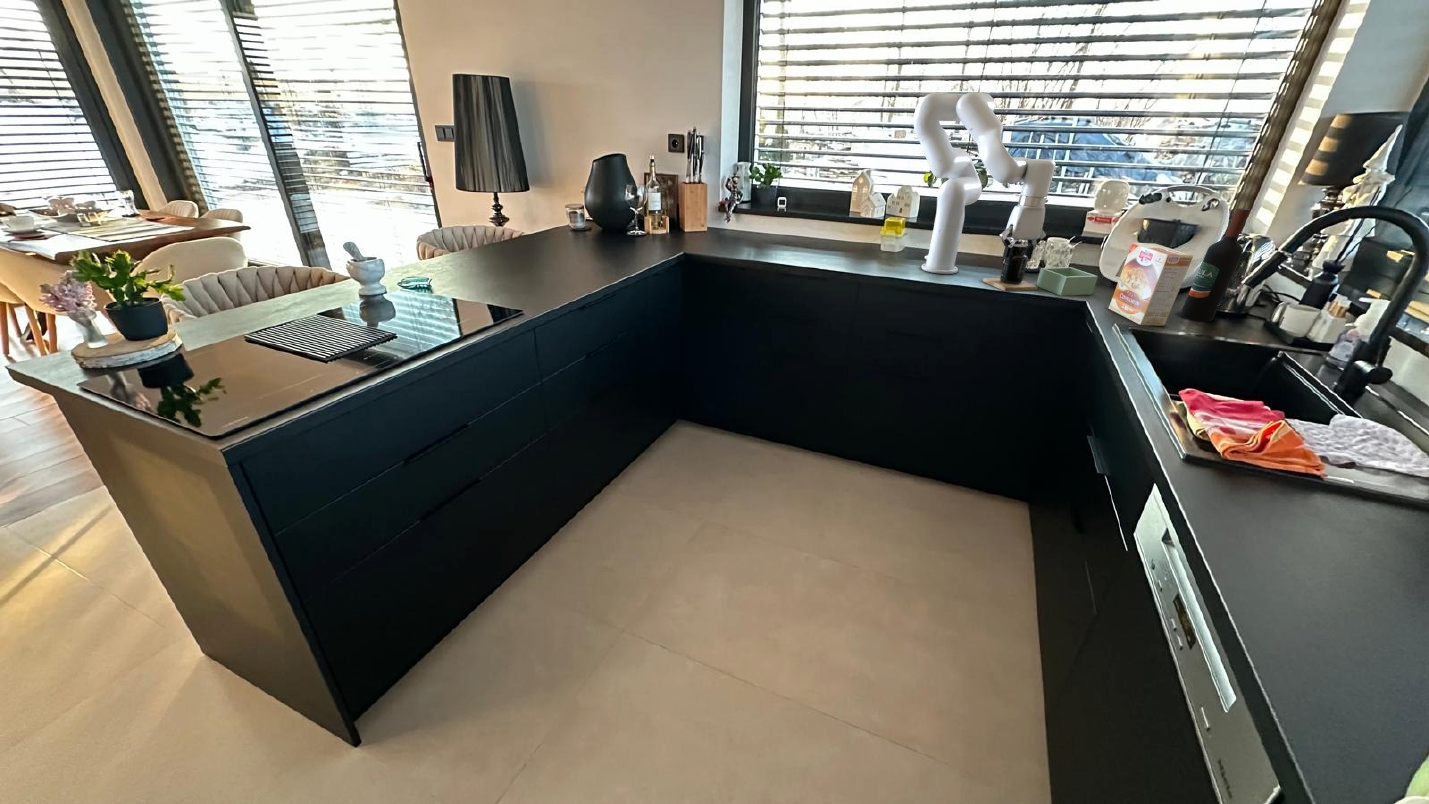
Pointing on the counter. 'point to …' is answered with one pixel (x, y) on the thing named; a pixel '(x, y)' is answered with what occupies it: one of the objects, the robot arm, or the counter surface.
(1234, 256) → the wine bottle
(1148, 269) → the coffeecake box
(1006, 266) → the supplement bottle
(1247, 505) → the counter surface
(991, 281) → the cork board
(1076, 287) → the box
